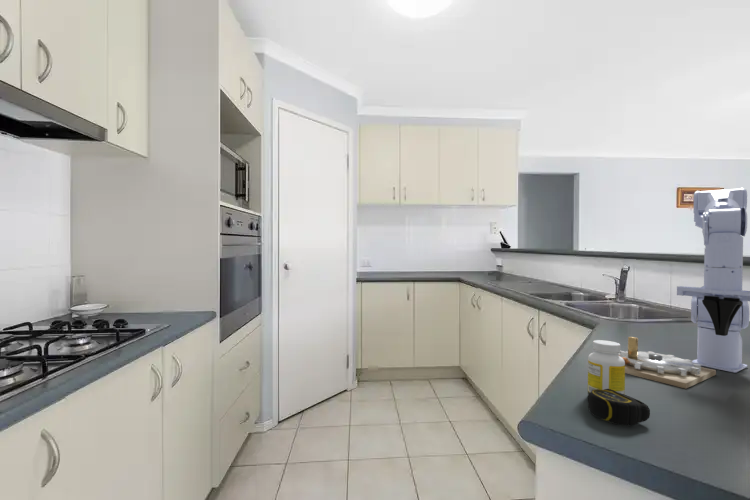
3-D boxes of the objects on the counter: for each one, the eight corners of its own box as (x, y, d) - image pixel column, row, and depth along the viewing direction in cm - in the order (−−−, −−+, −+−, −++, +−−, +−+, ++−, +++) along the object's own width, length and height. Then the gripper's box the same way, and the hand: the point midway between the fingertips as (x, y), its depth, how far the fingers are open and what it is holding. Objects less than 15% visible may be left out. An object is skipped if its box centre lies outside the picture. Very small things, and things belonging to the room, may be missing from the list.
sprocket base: (631, 356, 93) (632, 351, 93) (715, 374, 80) (716, 368, 80) (597, 366, 84) (597, 360, 84) (685, 388, 71) (686, 381, 71)
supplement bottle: (625, 399, 64) (626, 342, 65) (623, 409, 60) (625, 348, 60) (589, 391, 68) (590, 337, 68) (585, 400, 63) (586, 342, 63)
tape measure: (652, 427, 54) (653, 402, 54) (617, 433, 52) (617, 406, 52) (610, 408, 61) (610, 385, 61) (576, 412, 59) (577, 389, 59)
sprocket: (663, 355, 90) (664, 332, 90) (722, 376, 74) (722, 348, 74) (599, 354, 90) (600, 330, 90) (645, 374, 74) (646, 345, 74)
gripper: (671, 266, 80) (670, 329, 80) (769, 269, 68) (767, 344, 67) (684, 266, 84) (682, 327, 83) (778, 269, 71) (777, 340, 71)
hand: (721, 334), depth 76 cm, fingers closed
